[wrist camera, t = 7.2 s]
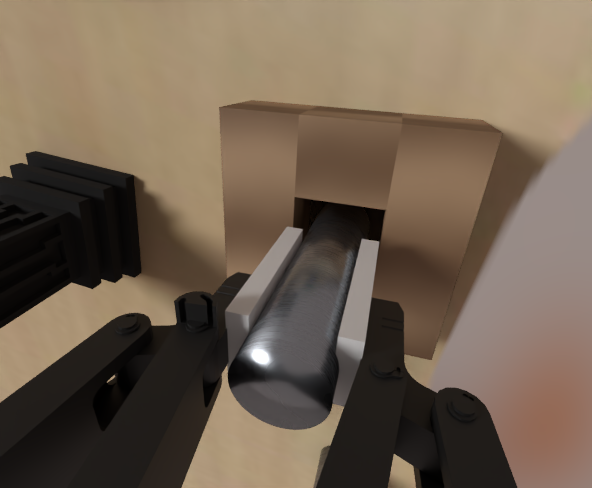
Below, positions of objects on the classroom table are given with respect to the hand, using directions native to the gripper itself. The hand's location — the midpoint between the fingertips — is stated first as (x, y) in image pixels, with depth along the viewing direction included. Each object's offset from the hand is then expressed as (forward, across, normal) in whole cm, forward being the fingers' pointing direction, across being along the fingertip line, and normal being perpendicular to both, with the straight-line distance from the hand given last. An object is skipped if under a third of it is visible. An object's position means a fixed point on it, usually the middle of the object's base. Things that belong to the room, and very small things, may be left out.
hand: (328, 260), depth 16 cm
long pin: (+4, 0, 0) cm, 4 cm away
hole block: (+6, 0, 0) cm, 6 cm away
